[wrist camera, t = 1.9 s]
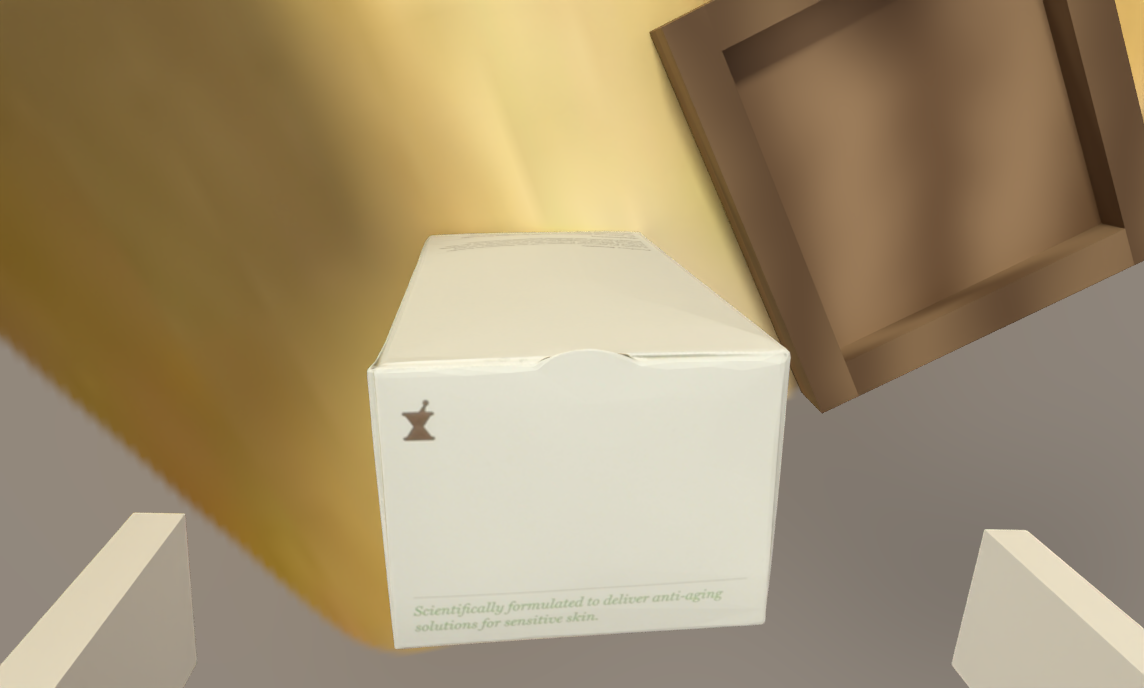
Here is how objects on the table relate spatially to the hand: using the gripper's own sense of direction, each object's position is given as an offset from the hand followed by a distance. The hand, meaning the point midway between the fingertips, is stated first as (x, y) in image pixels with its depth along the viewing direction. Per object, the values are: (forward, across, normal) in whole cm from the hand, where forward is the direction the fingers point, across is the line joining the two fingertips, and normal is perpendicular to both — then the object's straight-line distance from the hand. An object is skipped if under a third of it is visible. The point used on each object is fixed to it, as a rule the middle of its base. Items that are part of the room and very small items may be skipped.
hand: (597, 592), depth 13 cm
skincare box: (+18, 0, 0) cm, 18 cm away
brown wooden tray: (+18, +13, +7) cm, 23 cm away
